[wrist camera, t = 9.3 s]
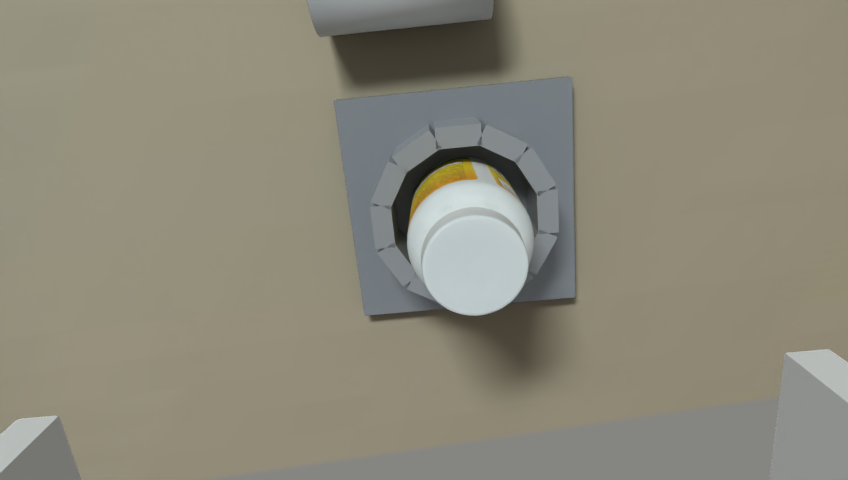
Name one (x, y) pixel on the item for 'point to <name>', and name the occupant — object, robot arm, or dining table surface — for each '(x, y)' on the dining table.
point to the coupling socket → (447, 138)
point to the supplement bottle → (469, 236)
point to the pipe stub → (392, 14)
